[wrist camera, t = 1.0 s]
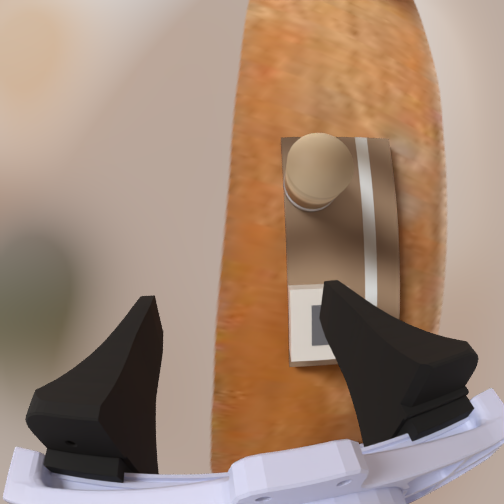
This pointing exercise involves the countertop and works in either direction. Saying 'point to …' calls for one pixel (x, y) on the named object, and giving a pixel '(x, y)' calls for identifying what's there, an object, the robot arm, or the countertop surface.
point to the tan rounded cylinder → (317, 171)
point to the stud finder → (306, 324)
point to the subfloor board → (349, 232)
